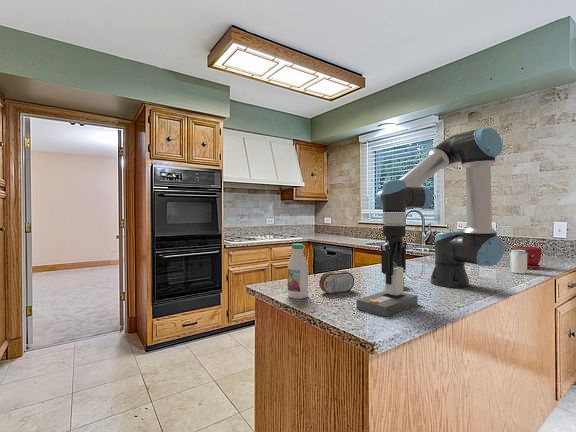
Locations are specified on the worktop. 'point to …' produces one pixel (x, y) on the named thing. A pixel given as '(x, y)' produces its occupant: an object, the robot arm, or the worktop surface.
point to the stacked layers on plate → (403, 280)
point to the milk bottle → (297, 273)
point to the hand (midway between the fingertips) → (394, 292)
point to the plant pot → (531, 261)
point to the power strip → (386, 303)
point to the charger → (397, 280)
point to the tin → (336, 282)
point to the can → (518, 261)
